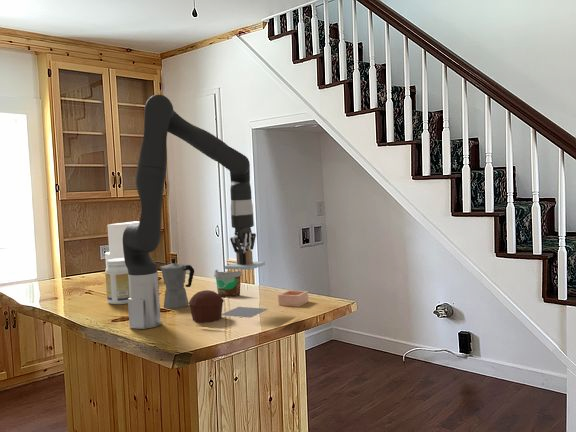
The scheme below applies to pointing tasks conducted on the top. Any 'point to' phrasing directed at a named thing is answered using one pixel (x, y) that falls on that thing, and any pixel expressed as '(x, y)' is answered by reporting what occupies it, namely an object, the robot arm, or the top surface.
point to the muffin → (206, 306)
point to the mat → (244, 312)
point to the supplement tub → (117, 281)
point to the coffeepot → (176, 284)
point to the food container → (228, 283)
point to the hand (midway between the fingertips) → (244, 263)
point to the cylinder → (116, 240)
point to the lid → (248, 265)
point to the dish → (293, 298)
